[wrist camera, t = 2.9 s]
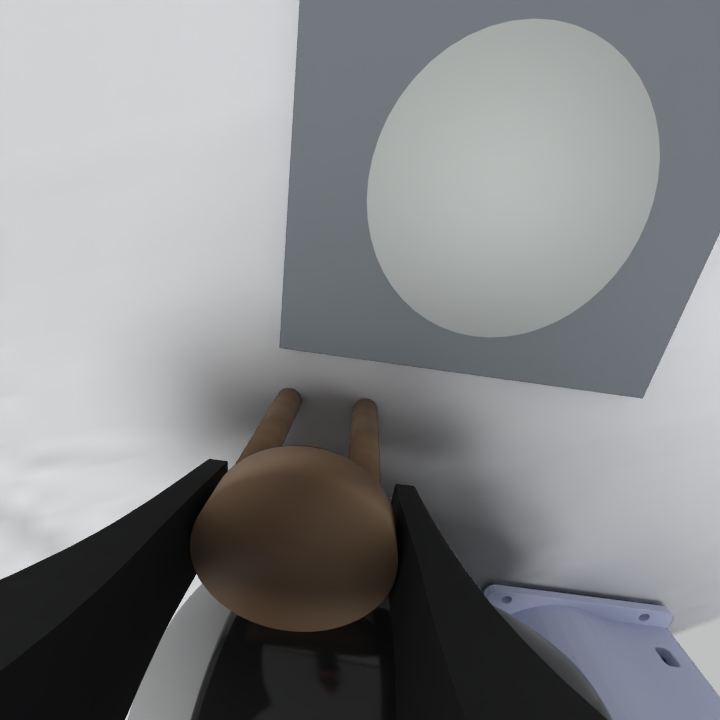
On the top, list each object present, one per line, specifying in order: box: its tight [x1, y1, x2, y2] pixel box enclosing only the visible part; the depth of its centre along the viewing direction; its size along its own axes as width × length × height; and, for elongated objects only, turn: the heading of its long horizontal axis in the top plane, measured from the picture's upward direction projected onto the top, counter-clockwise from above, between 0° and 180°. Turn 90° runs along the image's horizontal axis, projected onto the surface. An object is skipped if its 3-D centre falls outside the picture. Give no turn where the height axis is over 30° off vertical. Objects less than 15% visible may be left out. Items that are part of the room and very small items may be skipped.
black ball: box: [128, 584, 613, 720], centre depth 12 cm, size 10×10×15 cm
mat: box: [280, 0, 720, 398], centre depth 11 cm, size 14×12×1 cm
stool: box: [190, 388, 398, 632], centre depth 12 cm, size 6×6×6 cm
